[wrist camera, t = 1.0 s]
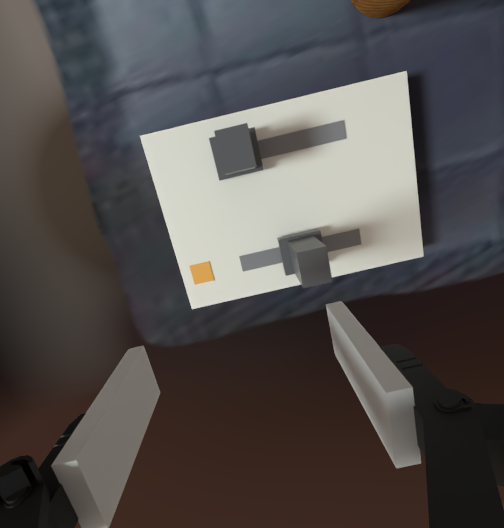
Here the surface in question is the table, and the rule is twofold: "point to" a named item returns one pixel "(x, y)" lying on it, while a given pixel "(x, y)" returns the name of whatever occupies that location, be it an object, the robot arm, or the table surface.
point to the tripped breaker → (305, 257)
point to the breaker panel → (292, 189)
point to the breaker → (236, 151)
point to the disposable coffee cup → (379, 7)
